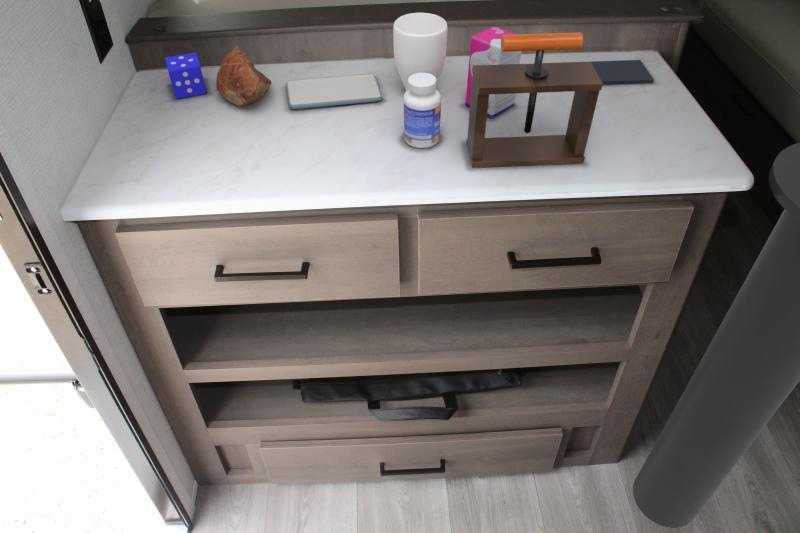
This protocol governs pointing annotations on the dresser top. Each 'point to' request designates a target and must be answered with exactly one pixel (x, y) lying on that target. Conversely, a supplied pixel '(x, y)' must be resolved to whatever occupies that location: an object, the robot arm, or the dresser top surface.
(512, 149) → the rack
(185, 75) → the die
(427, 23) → the mug
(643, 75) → the mat
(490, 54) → the supplement box
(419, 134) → the pill bottle
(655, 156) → the dresser top surface
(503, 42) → the T-handle
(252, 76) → the reddish-brown rock
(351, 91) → the smartphone
